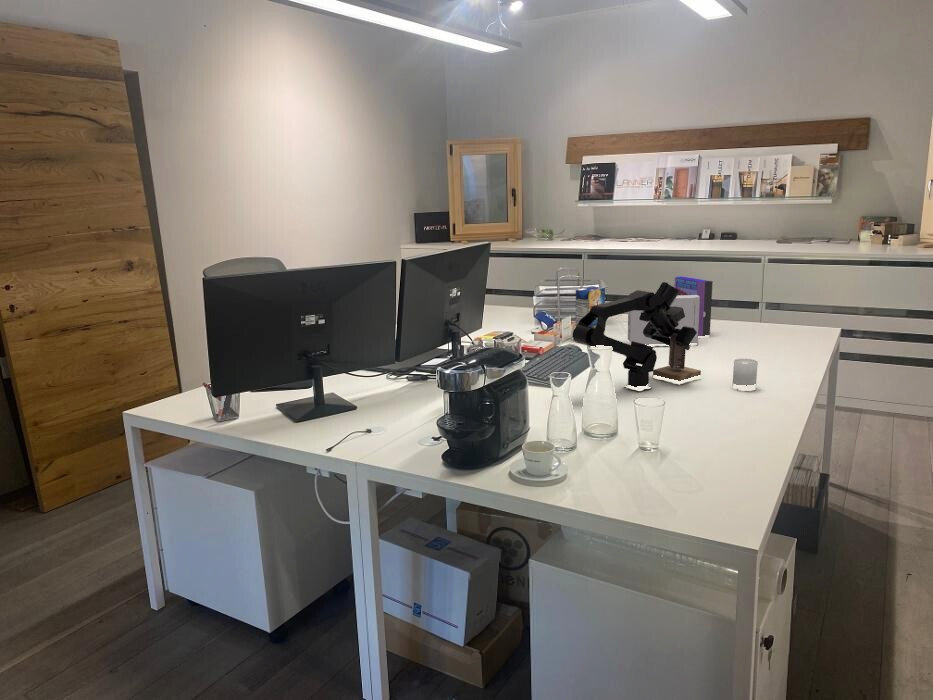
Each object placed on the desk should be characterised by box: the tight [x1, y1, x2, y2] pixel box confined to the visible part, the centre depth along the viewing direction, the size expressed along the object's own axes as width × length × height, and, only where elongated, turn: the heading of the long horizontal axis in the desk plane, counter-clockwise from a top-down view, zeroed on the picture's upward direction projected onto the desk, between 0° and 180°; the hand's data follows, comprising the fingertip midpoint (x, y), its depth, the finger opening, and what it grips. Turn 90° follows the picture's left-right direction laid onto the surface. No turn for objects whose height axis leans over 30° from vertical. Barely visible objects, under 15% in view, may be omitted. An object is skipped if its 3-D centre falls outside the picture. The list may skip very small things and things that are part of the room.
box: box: [668, 335, 687, 369], centre depth 237 cm, size 6×4×12 cm
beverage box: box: [575, 286, 606, 328], centre depth 295 cm, size 7×11×22 cm, turn 135°
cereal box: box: [673, 276, 713, 336], centre depth 300 cm, size 17×5×24 cm, turn 25°
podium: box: [652, 365, 702, 381], centre depth 239 cm, size 11×11×3 cm
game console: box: [627, 295, 700, 345], centre depth 283 cm, size 6×27×20 cm, turn 89°
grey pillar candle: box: [732, 358, 759, 386], centre depth 225 cm, size 7×7×9 cm
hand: (680, 347), depth 237 cm, fingers closed on box, 7 cm apart
